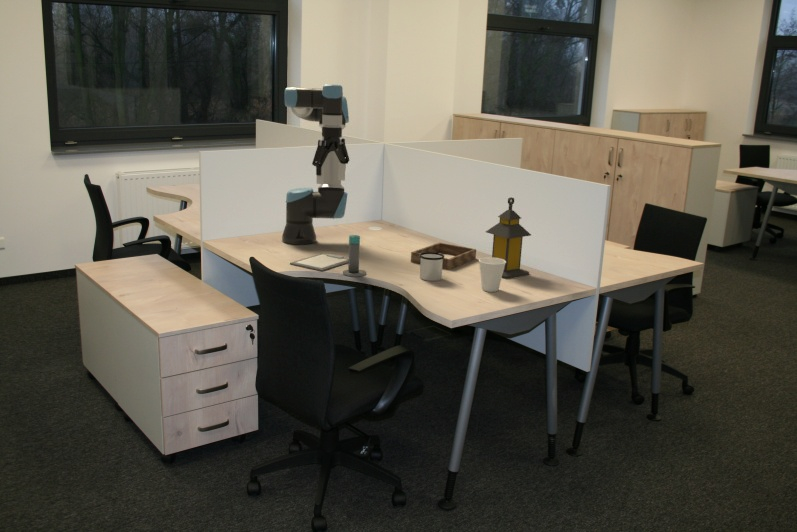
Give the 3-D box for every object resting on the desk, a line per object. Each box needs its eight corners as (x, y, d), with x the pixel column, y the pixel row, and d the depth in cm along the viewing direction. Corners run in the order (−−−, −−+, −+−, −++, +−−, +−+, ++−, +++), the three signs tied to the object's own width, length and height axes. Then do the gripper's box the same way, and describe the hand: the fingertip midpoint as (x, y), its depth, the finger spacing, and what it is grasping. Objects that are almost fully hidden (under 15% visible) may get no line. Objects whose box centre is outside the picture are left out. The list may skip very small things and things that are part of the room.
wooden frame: (438, 251, 324) (439, 242, 323) (475, 258, 315) (476, 249, 314) (410, 261, 305) (411, 252, 304) (449, 269, 296) (449, 259, 295)
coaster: (352, 269, 291) (352, 267, 291) (370, 273, 286) (371, 271, 286) (338, 273, 283) (338, 272, 283) (357, 278, 279) (357, 276, 279)
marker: (351, 269, 288) (352, 234, 284) (360, 271, 286) (361, 236, 282) (346, 272, 284) (346, 236, 280) (355, 274, 282) (356, 238, 279)
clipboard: (321, 254, 310) (321, 251, 310) (352, 261, 302) (352, 258, 302) (290, 264, 294) (290, 261, 293) (322, 271, 286) (322, 268, 285)
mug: (435, 283, 277) (436, 259, 274) (413, 278, 282) (414, 255, 279) (450, 276, 287) (452, 253, 284) (429, 272, 291) (430, 249, 289)
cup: (474, 285, 276) (476, 256, 273) (500, 286, 277) (502, 257, 274) (479, 293, 266) (481, 264, 263) (506, 294, 267) (509, 264, 264)
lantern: (480, 270, 297) (485, 196, 289) (505, 266, 305) (511, 193, 297) (505, 279, 286) (511, 202, 278) (530, 274, 294) (537, 199, 287)
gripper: (343, 124, 295) (342, 177, 301) (303, 127, 275) (302, 184, 280) (359, 125, 291) (357, 179, 297) (319, 128, 271) (318, 186, 276)
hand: (330, 182), depth 289 cm, fingers open, 13 cm apart
